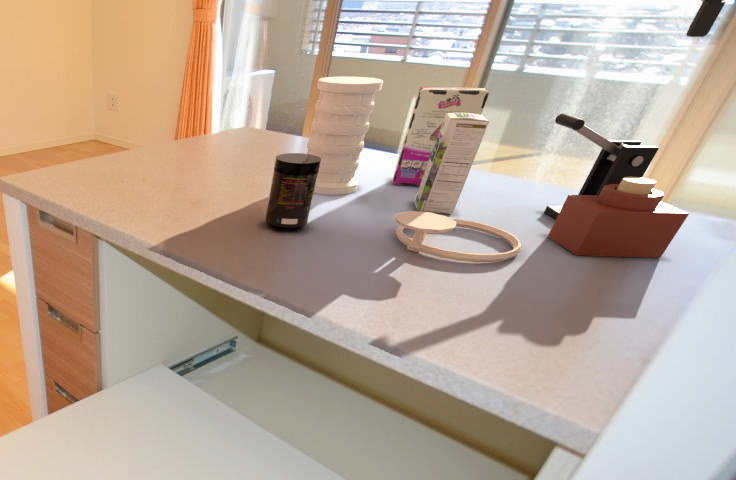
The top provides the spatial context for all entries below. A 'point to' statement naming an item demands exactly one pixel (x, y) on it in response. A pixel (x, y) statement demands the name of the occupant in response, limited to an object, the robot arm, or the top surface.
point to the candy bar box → (432, 127)
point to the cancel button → (636, 185)
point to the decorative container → (341, 130)
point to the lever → (589, 134)
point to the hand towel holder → (440, 223)
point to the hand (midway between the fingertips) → (719, 38)
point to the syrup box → (450, 162)
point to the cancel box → (617, 224)
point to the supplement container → (292, 191)
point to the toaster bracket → (614, 169)
